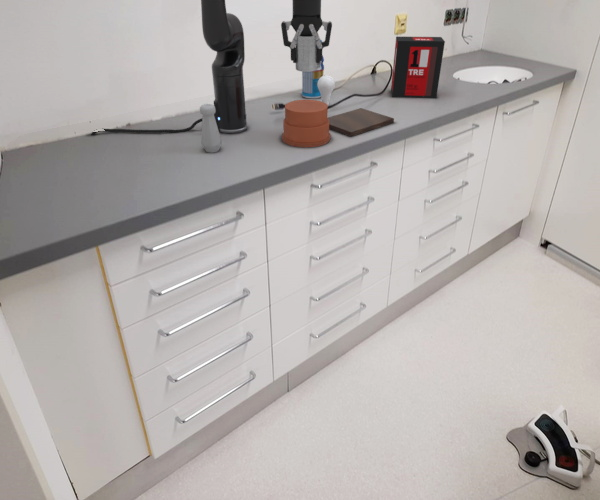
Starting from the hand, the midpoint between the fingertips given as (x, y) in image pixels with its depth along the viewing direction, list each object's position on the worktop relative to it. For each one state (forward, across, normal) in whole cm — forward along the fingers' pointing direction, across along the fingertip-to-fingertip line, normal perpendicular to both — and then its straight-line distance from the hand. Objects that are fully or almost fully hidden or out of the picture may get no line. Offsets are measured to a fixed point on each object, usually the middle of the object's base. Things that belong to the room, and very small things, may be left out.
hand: (306, 62), depth 133 cm
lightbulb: (+22, -6, -32) cm, 39 cm away
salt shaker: (+22, +27, +10) cm, 36 cm away
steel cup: (+2, 0, 0) cm, 2 cm away
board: (+22, -16, -14) cm, 31 cm away
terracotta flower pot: (+22, 0, 0) cm, 22 cm away
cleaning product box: (+22, -40, -49) cm, 67 cm away
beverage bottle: (+22, -1, -46) cm, 51 cm away
